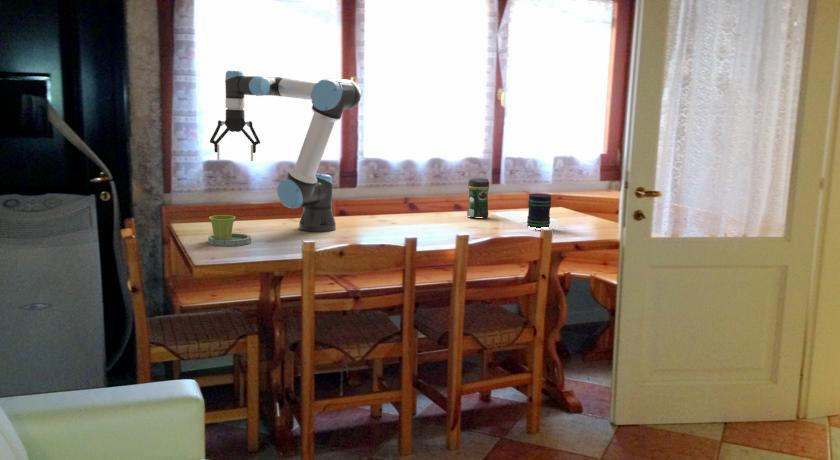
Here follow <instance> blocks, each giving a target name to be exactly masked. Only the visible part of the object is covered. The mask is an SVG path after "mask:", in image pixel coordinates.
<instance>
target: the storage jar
mask: <svg viewBox="0 0 840 460" xmlns="http://www.w3.org/2000/svg"><path fill="white" fill-rule="evenodd" d="M527 203H528V205H527V207H528V215H527V220H526V225H527V227H528V226H530V227H536V228H541V227H549V228H550V223H551V221H550V220H551V217H550V213H551V211H550V210H551V206H552V195H550V194H547V193H546V194H545V193H530V194H528V202H527Z"/></svg>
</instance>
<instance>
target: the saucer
mask: <svg viewBox="0 0 840 460" xmlns="http://www.w3.org/2000/svg"><path fill="white" fill-rule="evenodd" d="M251 237H252V236H251V235H250V234H249V235H248V234H246V233H236V232H232V236H231V240H217V239H214V235H213V234H211V235H208V237H207V238H208V239H207V242H208V243H207V244H209V245H212V246H217V247H238V246H239V247H241V246H245V245H249V244H251V242H252V238H251Z"/></svg>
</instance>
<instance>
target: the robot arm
mask: <svg viewBox="0 0 840 460" xmlns="http://www.w3.org/2000/svg"><path fill="white" fill-rule="evenodd" d="M224 84H225V108H226V109H225V120H220V119H219V120H218V121H217V126H216V128H215V130H214V132H213V134H212V136H211V137H210V140H209V143H210V144H213V145H214V148H213V149H214V153H216V155H217V161H218V162H219V161H220V144H219V143H220V142H221V140H222V139H223V138H224V137H226V135H227V133H229V132H230V133H235V132H236V133H239V132H242V133H243V135H244V136H245V137H246V138H247V140H248V141H250V143H251V145H250V161H251V162H253V161H254V154H255V153H256V152H257V151H256V149H257V145H259V144H261V141H260V138H259V137H258V134H257V133H256V131H255V129H254V127H253V121H251V120H250V121H246V120H245V110H244V109H245V96H255V97H258V96H260V97H261V96H273V97H276V96H277V97H286V98H293V99H303V100H311V104H312V105H311V110H312V112H313V116H312V118H311V120H310V123H309V126H308V129H307V132H306V135H305V138H304V140H303V142H302V146H301V150H300V152H299V155H298V158H297V160H296V163H295V166H294V168H290V169H289V171H288V174H287V177H286V178H285V179H283V180H281V181H280V182H279V183H278V186H277V191H276V192H277V197H278V199H279V201H280V203H281V204H282V205H283V206H285V208H289V209H298V208H303V211H302V214H301V216H300V220H299V223H298V227H299V228H298V229H299V230H301V231H306V232H331V231H335V230H336V228H337V224H336V219H335V217H334V216H335V215H334V214H333V209H332V208H333V185H334V184H333V177H332V175H330V174H324V173H323V174H322V173H317V171H318V169H319V166H320V163H321V161H322V158H323V156H324V153H325V151H326V147H327V144H328V142H329V138H330V136H331V133H332V130H333V128H334V126H335V123H336V122H337V121H339V120H341V118H342V115H343V112H344V111H346V110H351V109H354V108H355V107H356V106H357V105H358V104H359V102H361V98H362V97H361V96H362V95H361V89H360V87H359V85H358V84H357V83H356V82H355V81H354V80H352V79H351V80H350V79H342V78H341V79H339V78H331V77H329V78H323V79H321V80H319V81H316V80H315V81H314V80H305V79H296V78H294V79H293V78H287V77H285V78H284V77H280V76H259V75H258V76H250V75H248V76H245V72H244V71H243V70H227V71H226V72H225V80H224ZM223 125H225V127H226V128H225V129H224V130H223V132H222V133H220V135H219V136H218V138H217V139H216V137H217V135H218V133H219V131H220V129H221V127H223ZM246 125H247V127H248V128H249V129H250V131H251V133H252V135H253V138H254V139H255V140H254V139H253V138H252V137H251V136H250V134H249V133H248V132H247V131H246V129H245V126H246Z"/></svg>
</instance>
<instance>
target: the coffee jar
mask: <svg viewBox="0 0 840 460" xmlns="http://www.w3.org/2000/svg"><path fill="white" fill-rule="evenodd" d="M467 188H468V190H469V193H468V195H469V196H468V206H467V212H466V213H467V214H466V215H467V217H468V216H470V217H487V218H488V217H489V203H488V202H489V199H488V198H489V197H488V196H489V194H488V193H489V189H490V181H489V179H487V178H484V177H483V178H481V177H480V178H479V177H478V178H477V177H476V178H470V179H469V180H468V186H467Z"/></svg>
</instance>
